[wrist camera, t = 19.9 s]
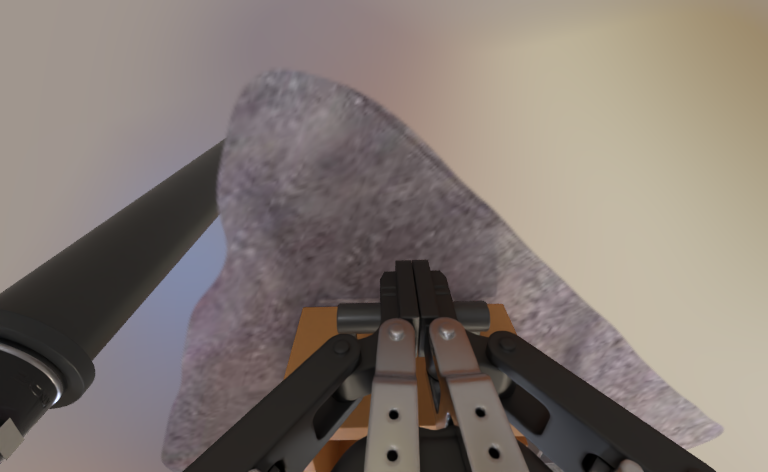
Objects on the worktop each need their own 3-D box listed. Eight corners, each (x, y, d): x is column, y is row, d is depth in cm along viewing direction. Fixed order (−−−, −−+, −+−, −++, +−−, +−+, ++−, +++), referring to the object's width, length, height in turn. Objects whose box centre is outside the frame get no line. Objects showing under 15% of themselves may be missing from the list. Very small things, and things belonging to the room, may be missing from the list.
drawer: (291, 248, 19) (245, 365, 12) (518, 245, 19) (593, 358, 12) (325, 422, 29) (310, 535, 23) (472, 419, 29) (499, 531, 23)
